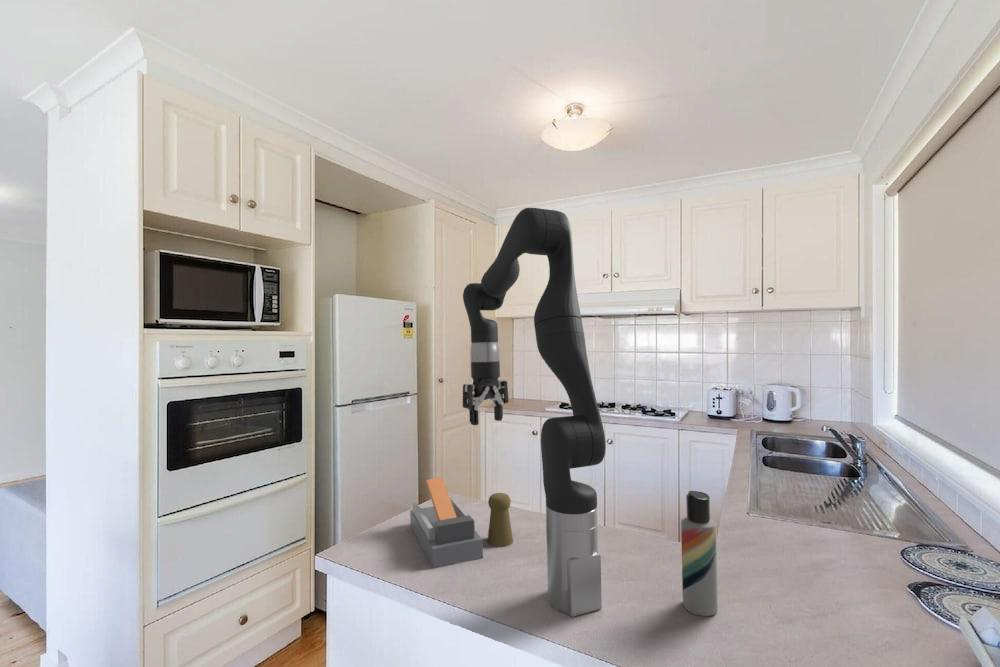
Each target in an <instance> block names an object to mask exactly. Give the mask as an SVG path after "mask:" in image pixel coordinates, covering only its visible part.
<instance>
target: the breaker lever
mask: <svg viewBox="0 0 1000 667" xmlns="http://www.w3.org/2000/svg"><path fill="white" fill-rule="evenodd" d="M443 478H444V477H437V478H429V479H426V487H427V490H428V492H429V496H430V499H431V503H432V507H433V506H434V509H435V512H436V515H437V518H438V521H439V520H445V519H451V518H456V517H457V516H456V514H455V511H454V508H453V506H452V503H451V500H450V497H451V496H450V495H449V493H448V489H447V487H446V484H445V481H444V479H443Z"/></svg>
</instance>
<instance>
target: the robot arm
mask: <svg viewBox="0 0 1000 667" xmlns="http://www.w3.org/2000/svg"><path fill="white" fill-rule="evenodd" d="M573 253H574V251H573V237H572V228H571V223H570V220H569V218H568V216H567V215H566V213H564V212H562V211H559V210H556V209H547V208H546V209H545V208H538V207H525V208H523V209H522V210H520V211H519V213H518V214H516V216H515V218H514V219H513V221H512V223H511V225H510V227H509V229H508V232H507V234H506V236H505V238H504V240H503V242H502V244H501V247H500V250H499V251H498V253H497V256H496V258H495V259H494V261H493V262H492V264H491V265H490V266H489V267H488V268H487V270H486V271H485V272H484V273H483V275H482V277H481V280H480V283H479V282H477V283H476V282H475V283H474V282H472V283H468V284H467V285H466V286H465V287H464V290H463V292H462V301H463V304H464V307H465V311H466V315H467V318H468V321H469V325H470V377H471V379H472V384H471V383H468V384H467V383H464V384H463V385H462V407H463V409H468V410H469V412H468V413H469V423H470V425H472V426H478V425H479V419H480V418H479V408H480V405H481V404H483V402H484V400H485V401H486V400H491V401H492V403H493V405H494V406H493V413H494V414H493V415H494V417H493V418H494V421H497V422H499V421H500V422H501V421H502V420H503V417H504V415H503V414H504V411H503V406H504V405H505V404H508V403H509V392H508V391H509V389H508V388H509V387H508V381H507V380H499V378H500V377H501V365H500V364H501V363H500V347H499V331H498V330H499V329H498V323H497V321H496V320H495V319H494V320H493V319H490V318H485V316H483V315H482V314H483V313H482V312H481V311H496V310H499V309H500V308H501V307H502V306H503V304H504V301H505V297H506V295H507V292H508V291H509V290H510V289H511V288H512V287H513V285H515V283H516V281H517V280H518V279H519V276H520V271H521V270H520V263H519V260H518V259H519V257H521V256H522V255H523V254H529V255H537V256H538V255H539V256H546V257H547V260H548V266H549V270H548V271H549V273H548V274H549V276H548V277H549V278H548V281H547V284H546V285H545V286H546V287H545V289H544V291H543V293H542V295H541V296H540V299H539V300H538V301H539V302H538V303H537V306H536V308H535V311H534V314H533V315H534V316H533V323H534V332H535V338H536V339H535V340H536V345H537V349H538V350H537V351H538V352H539V354H540V357H541V359H542V360H543V361H544V363H545V364H546V365H547V367H548V368H549V369H550V371H551V372H552V373H553V374H554V375H555V377H556V378H557V379H558V381H559V382H560V383H561V386H563V388H564V389H565V392H566V394H567V397H568V399H569V402H570V403H569V404H570V407H571V410H572V415H569V416H568V415H567V416H557V417H551V418H547V419H546V420H545V421H544V422H543V424H542V426H541V432H540V453H541V463H542V464H541V465H542V479H543V481H542V482H543V489H544V495H545V522H546V526H545V528H546V530H545V531H546V532H545V533H546V567H547V568H546V572H547V575H546V576H547V601H548V603H549V605H550V606H552V607H553V608H554V609H556V610H558V611H559V612H562V613H566V614H568V615H569V616H570V617H572V618H573V617H576V616H577V617H578V616H581V615H583V614H587V613H590V612H595V611H598V610H600V609H603V608H602V607H603V606H602V605H603V603H602V601H603V600H602V565H601V564H602V563H601V562H602V561H601V558H602V556H601V554H600V553H599V536H598V535H599V534H598V533H599V530H598V529H599V528H598V523H599V522H598V494H597V491H596V490H595V488H593V487H592V486H590V485H589V484H587V483H584V482H580V481H575V480H573V479H572V478H571V469H577V468H583V467H584V468H587V467H593V466H597V465H599V464H601V462H603V460H604V458H605V455H606V451H607V450H606V436H605V430H604V423H603V422H602V417H601V416H602V415H601V413H600V410H599V409H600V408H599V406H598V402H597V397H596V394H595V390H594V386H593V382H592V377H591V371H590V366H589V359H588V354H587V347H586V339H585V332H584V327H583V320H582V315H581V308H580V305H579V300H578V293H577V291H578V290H577V284H576V277H575V276H576V275H575V266H574V255H573Z"/></svg>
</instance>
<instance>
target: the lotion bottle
mask: <svg viewBox="0 0 1000 667" xmlns="http://www.w3.org/2000/svg"><path fill="white" fill-rule="evenodd" d="M685 498H686V499H685V500H686V515H685V516H683V517H681V520H680V529H681V530H680V532H681V534H680V536H681V537H680V538H681V576H682V577H681V579H682V580H681V582H682V587H681V588H682V604H683V607H684V608H685V610H687V611H688V612H690V613H691V614H695V615H697V616H701V617H710V616H714V615H716V614H717V613H718V610H719V596H718V595H719V594H718V593H719V591H718V590H719V589H718V588H719V586H718V585H719V584H718V545H717V542H718V540H717V524H716V522H715V521H714V519H712V518H711V507H710V506H711V502H710V501H711V499H710V496H709V494H707V493H706V492H702V491H697V490H689V491H688V493H687V494H686V497H685Z"/></svg>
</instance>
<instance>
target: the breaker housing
mask: <svg viewBox="0 0 1000 667" xmlns="http://www.w3.org/2000/svg"><path fill="white" fill-rule="evenodd" d="M449 497H450V500H451V503H452V506H453V508H454V511H455V514H456V516H457V517H456V518H451V519H445V520H439V521H438V518H437V515H436V512H435V509H434V506H433V505H432V506H429V507H428V506H427V507H422V508H421V507H420V505H419V504H418V502H417V501H415V502H412V509H410V515H409V516H410V527H411V529H412V531H413V532H414V534H415V536H416V539H417V540H418V542H419V544H420V546H421V547H422V549H423V552H424V554H425V555H426V557H427V559H428V561H429V563H430V564H431V566H432V568H433V569H436V568H442V567H447V566H450V565H456V564H460V563H464V562H469V561H474V560H478V559H480V560H481V559H483V558H484V548H483V547H484V546H483V545H484V544H483V538H482V537H481V536H480V535H479V534H478V532H477V531H476V529H475V528H476V525H475V523H476V522H475V521H476V520H474V518H473V517H472V516H471V515H470V514H469V513H468V511H467V510H466V509H464V508H463V506H462V505H461V504H460V503H459V502H458V500H457V499H455V498H454V496H449Z"/></svg>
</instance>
